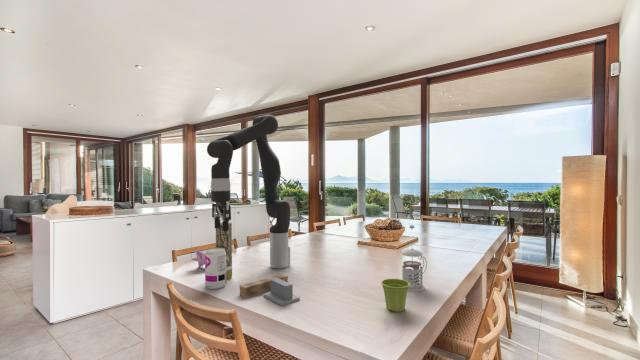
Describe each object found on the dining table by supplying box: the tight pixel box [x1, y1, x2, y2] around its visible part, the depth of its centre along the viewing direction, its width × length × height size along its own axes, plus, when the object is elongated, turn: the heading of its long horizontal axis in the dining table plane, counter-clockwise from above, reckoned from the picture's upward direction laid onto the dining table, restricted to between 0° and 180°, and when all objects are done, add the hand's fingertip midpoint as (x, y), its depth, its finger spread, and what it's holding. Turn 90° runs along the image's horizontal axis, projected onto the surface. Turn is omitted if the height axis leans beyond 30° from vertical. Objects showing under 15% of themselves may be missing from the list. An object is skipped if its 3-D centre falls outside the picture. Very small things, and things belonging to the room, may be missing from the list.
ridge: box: [263, 278, 301, 307], centre depth 117 cm, size 8×12×6 cm, turn 40°
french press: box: [401, 224, 428, 292], centre depth 128 cm, size 10×12×25 cm
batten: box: [239, 273, 289, 298], centre depth 127 cm, size 20×4×4 cm, turn 134°
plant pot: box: [380, 278, 410, 312], centre depth 107 cm, size 9×9×9 cm
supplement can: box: [204, 247, 227, 290], centre depth 131 cm, size 8×8×15 cm
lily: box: [190, 249, 205, 270], centre depth 156 cm, size 12×12×10 cm
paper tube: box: [215, 220, 233, 281], centre depth 142 cm, size 7×7×25 cm
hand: (221, 229), depth 130 cm, fingers open, 8 cm apart
